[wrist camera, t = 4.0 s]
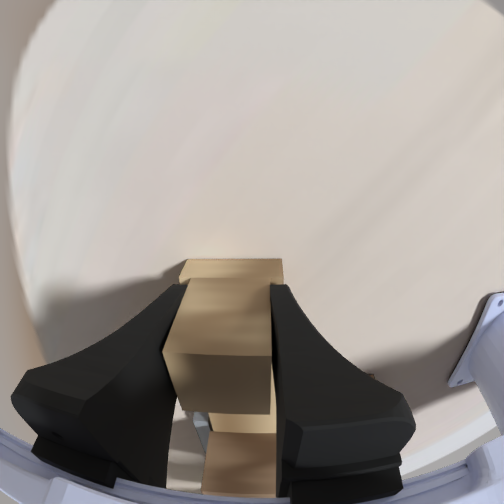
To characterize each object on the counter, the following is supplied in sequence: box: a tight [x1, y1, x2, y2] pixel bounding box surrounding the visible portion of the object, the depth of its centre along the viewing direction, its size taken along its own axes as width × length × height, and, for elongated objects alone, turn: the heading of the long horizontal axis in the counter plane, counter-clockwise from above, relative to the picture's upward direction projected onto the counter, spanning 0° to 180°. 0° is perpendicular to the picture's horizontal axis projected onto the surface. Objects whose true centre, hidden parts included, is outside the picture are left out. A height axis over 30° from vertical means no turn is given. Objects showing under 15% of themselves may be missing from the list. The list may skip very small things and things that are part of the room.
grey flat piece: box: [193, 412, 213, 454], centre depth 20 cm, size 13×13×2 cm
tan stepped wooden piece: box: [162, 259, 284, 433], centre depth 14 cm, size 4×16×6 cm, turn 2°
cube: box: [201, 431, 276, 498], centre depth 15 cm, size 4×4×4 cm
